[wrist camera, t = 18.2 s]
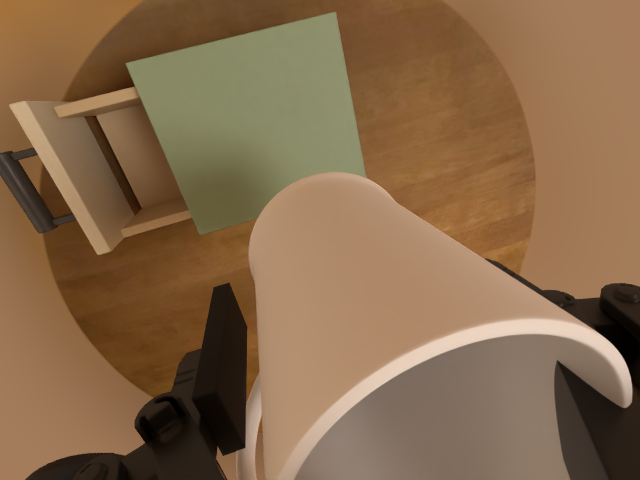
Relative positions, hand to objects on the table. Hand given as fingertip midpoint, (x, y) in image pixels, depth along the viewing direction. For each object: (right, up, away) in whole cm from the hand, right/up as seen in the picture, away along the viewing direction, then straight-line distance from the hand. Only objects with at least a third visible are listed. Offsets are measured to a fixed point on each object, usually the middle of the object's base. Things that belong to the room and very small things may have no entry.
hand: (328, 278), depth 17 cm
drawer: (-18, +10, +17) cm, 27 cm away
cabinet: (-7, +14, +19) cm, 25 cm away
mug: (-1, 0, +1) cm, 2 cm away
